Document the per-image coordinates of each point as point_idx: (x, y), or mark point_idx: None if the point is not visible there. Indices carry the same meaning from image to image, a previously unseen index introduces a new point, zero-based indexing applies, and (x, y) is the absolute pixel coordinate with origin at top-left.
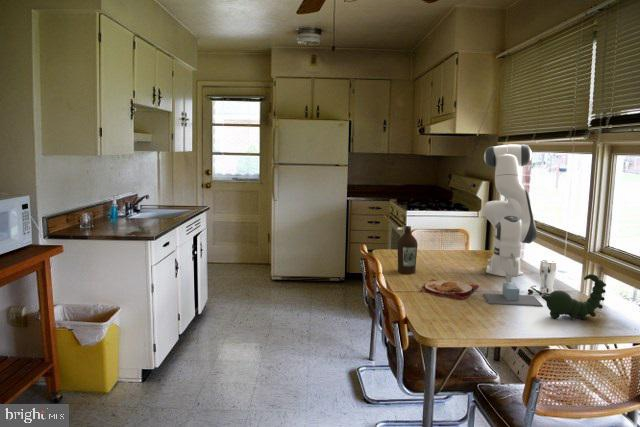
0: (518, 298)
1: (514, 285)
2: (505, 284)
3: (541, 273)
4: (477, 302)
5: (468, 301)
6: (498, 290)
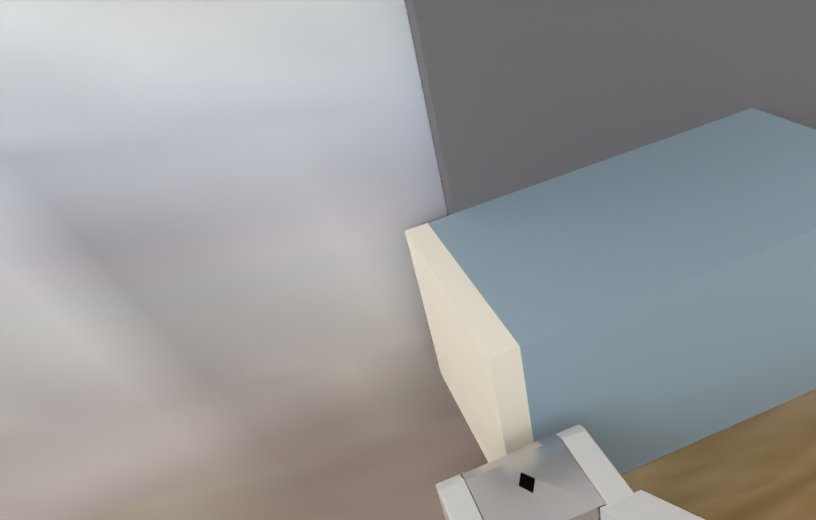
0: (779, 123)
1: (678, 311)
2: (632, 452)
3: None
4: (771, 453)
5: (747, 507)
6: (211, 451)
